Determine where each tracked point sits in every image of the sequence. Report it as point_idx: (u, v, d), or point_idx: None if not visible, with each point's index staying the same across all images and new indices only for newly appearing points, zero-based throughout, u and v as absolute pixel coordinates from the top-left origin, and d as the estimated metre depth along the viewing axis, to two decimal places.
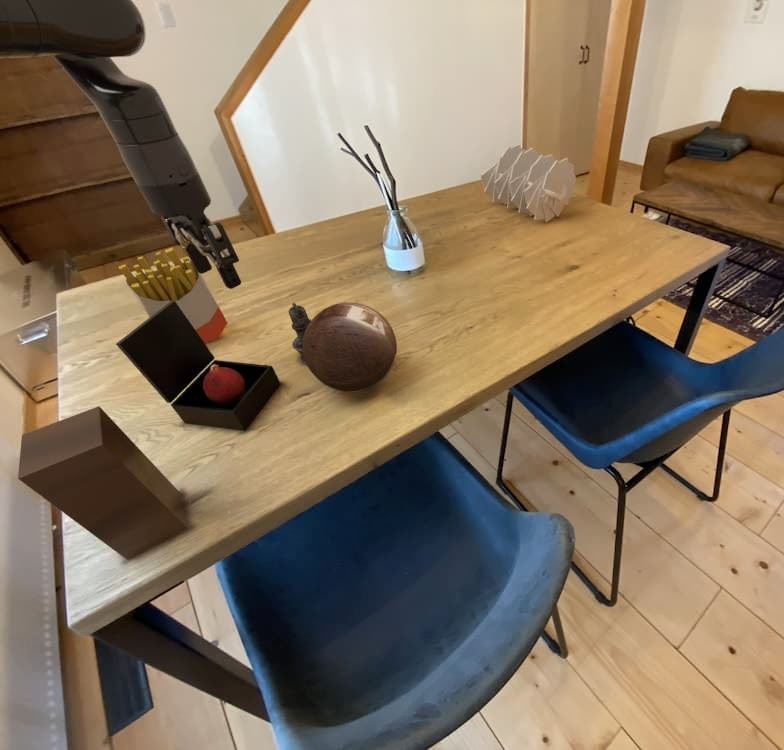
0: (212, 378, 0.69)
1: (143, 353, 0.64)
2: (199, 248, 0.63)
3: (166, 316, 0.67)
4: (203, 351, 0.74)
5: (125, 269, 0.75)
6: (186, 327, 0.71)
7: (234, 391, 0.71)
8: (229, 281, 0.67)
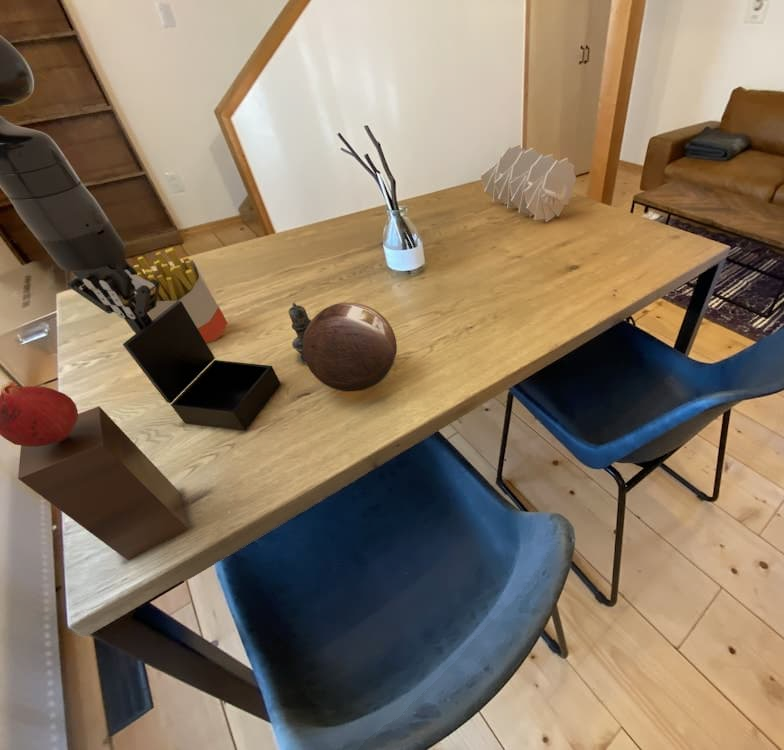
0: (3, 406, 0.41)
1: (148, 354, 0.64)
2: (118, 301, 0.60)
3: (172, 317, 0.67)
4: (204, 351, 0.74)
5: None
6: (190, 327, 0.70)
7: (49, 427, 0.43)
8: None
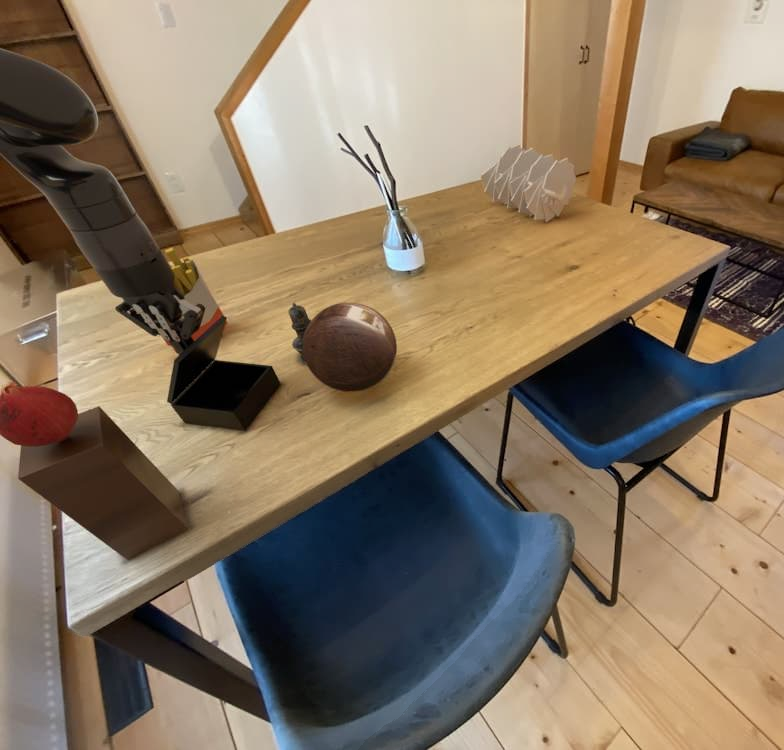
0: (3, 406, 0.41)
1: (185, 366, 0.64)
2: (165, 325, 0.62)
3: (214, 332, 0.68)
4: (213, 355, 0.74)
5: None
6: (218, 337, 0.71)
7: (49, 427, 0.43)
8: None
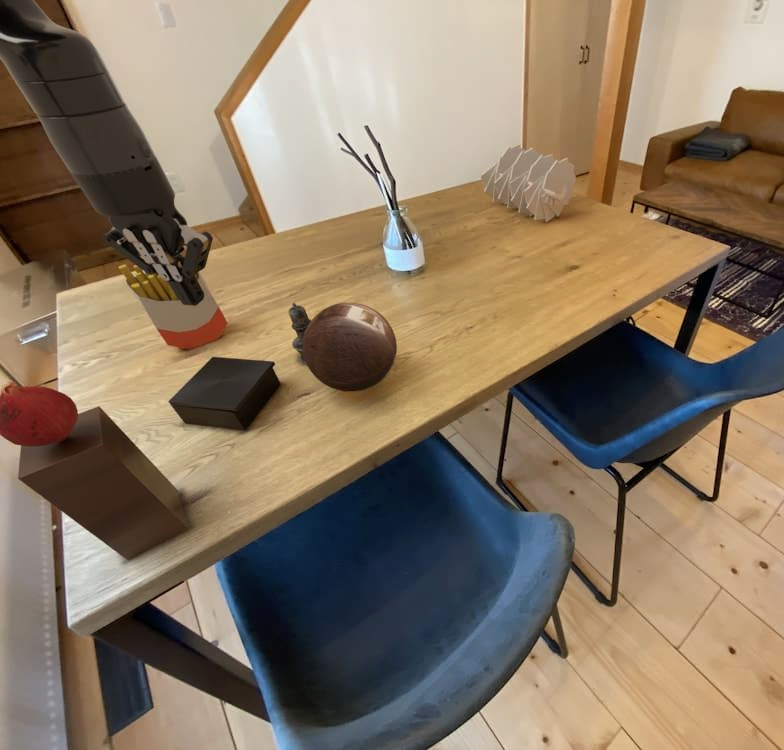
0: (3, 406, 0.41)
1: None
2: (163, 257, 0.50)
3: None
4: None
5: (125, 269, 0.75)
6: None
7: (49, 427, 0.43)
8: (193, 296, 0.55)
